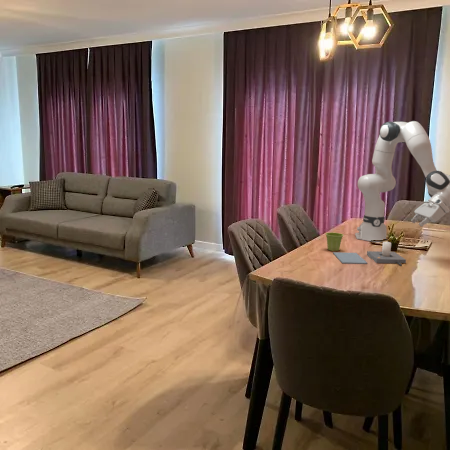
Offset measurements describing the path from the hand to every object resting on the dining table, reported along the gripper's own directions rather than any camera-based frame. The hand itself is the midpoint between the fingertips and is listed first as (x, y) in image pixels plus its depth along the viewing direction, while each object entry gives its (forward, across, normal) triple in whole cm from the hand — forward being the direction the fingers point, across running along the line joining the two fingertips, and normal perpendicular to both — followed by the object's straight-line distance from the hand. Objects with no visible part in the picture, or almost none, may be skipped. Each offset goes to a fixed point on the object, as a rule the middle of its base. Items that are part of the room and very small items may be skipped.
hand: (416, 223), depth 233 cm
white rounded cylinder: (+22, 0, +3) cm, 23 cm away
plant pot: (+38, -18, -12) cm, 44 cm away
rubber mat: (+35, 0, -10) cm, 36 cm away
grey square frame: (+23, +2, +3) cm, 23 cm away
